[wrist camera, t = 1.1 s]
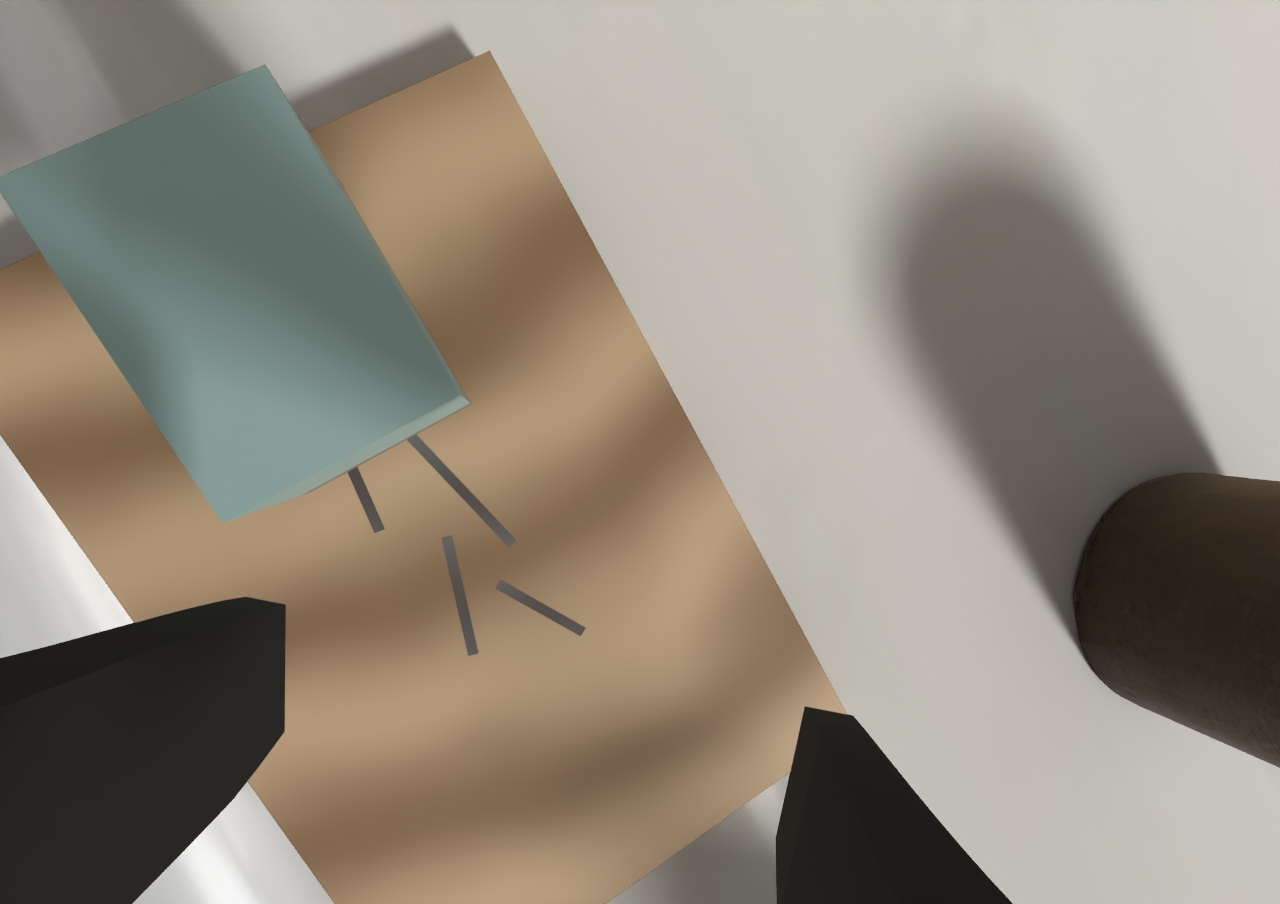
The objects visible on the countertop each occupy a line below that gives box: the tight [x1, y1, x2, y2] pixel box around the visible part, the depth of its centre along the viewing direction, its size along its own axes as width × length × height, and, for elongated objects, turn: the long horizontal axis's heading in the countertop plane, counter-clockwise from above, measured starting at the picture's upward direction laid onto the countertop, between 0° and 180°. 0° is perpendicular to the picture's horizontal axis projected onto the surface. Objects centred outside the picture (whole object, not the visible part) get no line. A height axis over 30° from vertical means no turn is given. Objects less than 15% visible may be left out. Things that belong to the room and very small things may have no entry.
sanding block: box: [0, 65, 471, 523], centre depth 15 cm, size 7×5×6 cm
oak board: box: [0, 51, 848, 904], centre depth 20 cm, size 24×16×2 cm, turn 29°
